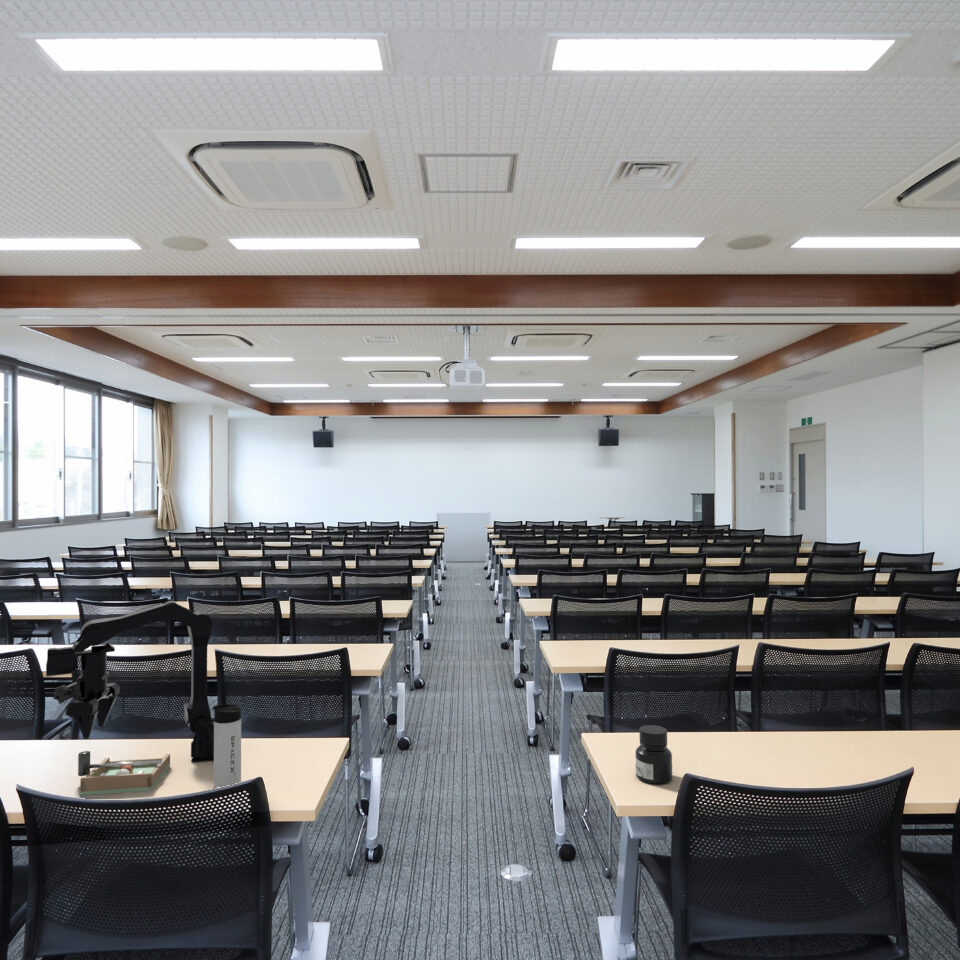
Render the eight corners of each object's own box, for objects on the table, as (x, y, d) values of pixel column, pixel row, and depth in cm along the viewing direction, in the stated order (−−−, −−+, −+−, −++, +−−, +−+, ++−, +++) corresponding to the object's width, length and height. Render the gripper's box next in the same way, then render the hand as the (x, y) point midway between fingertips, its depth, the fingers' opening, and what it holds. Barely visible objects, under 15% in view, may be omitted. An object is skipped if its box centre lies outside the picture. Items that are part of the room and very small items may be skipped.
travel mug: (216, 783, 166) (217, 702, 167) (243, 782, 167) (244, 701, 168) (208, 794, 160) (209, 710, 161) (237, 793, 161) (237, 709, 161)
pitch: (170, 766, 178) (170, 751, 178) (151, 790, 163) (151, 773, 163) (105, 770, 175) (105, 755, 175) (80, 795, 160) (80, 778, 161)
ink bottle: (630, 770, 172) (630, 723, 173) (664, 769, 173) (663, 722, 173) (642, 786, 163) (642, 736, 163) (678, 785, 163) (677, 735, 164)
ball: (129, 765, 166) (126, 778, 164) (132, 772, 168) (129, 784, 166) (116, 766, 166) (112, 779, 163) (119, 773, 168) (115, 785, 165)
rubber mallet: (162, 772, 171) (163, 746, 171) (159, 776, 169) (159, 750, 169) (80, 777, 168) (81, 751, 168) (76, 781, 166) (76, 755, 166)
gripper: (75, 663, 179) (75, 722, 178) (41, 682, 160) (41, 748, 160) (120, 661, 180) (120, 719, 180) (91, 679, 162) (91, 744, 162)
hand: (93, 732), depth 170 cm, fingers open, 9 cm apart
